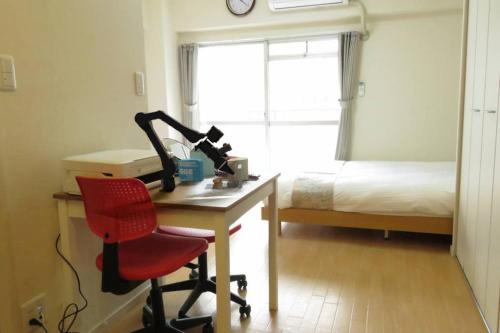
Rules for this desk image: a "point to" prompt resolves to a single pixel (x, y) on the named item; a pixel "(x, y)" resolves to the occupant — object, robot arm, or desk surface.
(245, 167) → the can
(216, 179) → the offcut stack
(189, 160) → the data package
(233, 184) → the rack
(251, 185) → the desk surface
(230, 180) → the birch strip
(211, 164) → the grey-green peaked box
